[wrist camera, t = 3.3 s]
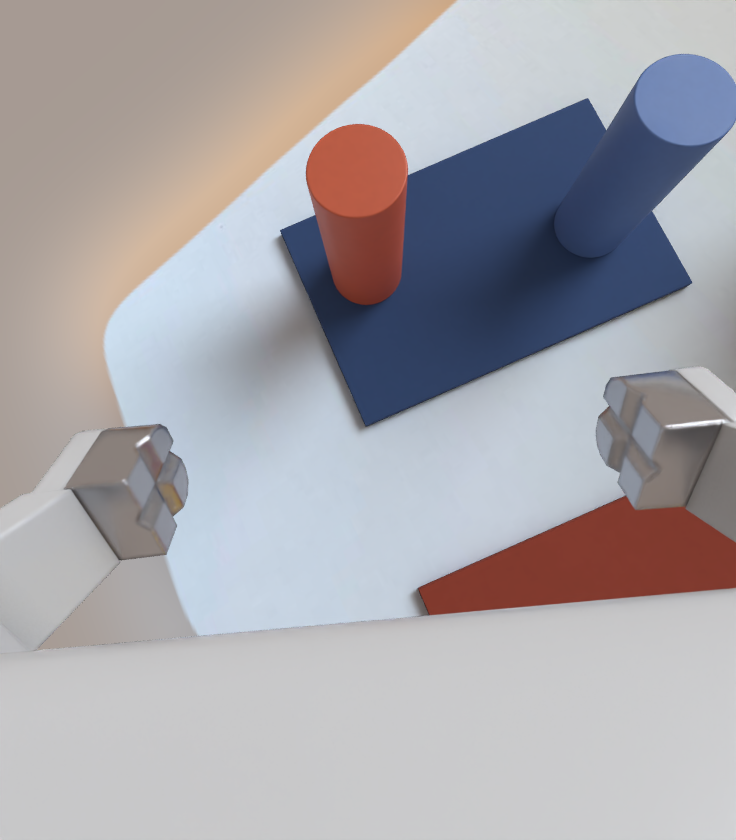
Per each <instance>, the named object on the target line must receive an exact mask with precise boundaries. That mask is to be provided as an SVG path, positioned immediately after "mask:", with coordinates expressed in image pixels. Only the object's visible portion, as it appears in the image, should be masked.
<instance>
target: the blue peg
mask: <svg viewBox="0 0 736 840" xmlns="http://www.w3.org/2000/svg"><path fill="white" fill-rule="evenodd" d="M735 121H736V84H735V82H734V80H733V79H732V77H731V76H730V75H729V73H728V72H727V71H726V70H725V69H724V68H722V67H721V66H720V65H718V64H717V63H715V62H714V61H712V60H710V59H707V58H705V57H702V56H698V55H692V54H677V55H672V56H668V57H665V58H662V59H660V60H658V61H656V62H655V63H653V64H652V65H650V66H649V67H648V68H647V69H646V70H645V71H644V72H643V73H642V74H641V76H640V77H639V79H638V80H637V82H636V84H635V85H634V87H633V88H632V90H631V92H630V93H629V95H628V97H627V98H626V100H625V101H624V103H623V105H622V106H621V108H620V109H619V111H618V113H617V114H616V116H615V118H614V119H613V121H612V122H611V124H610V126H609V127H608V129H607V131H606V132H605V134H604V135H603V137H602V139H601V140H600V142H599V143H598V145H597V147H596V148H595V150H594V152H593V153H592V155H591V156H590V158H589V160H588V161H587V163H586V164H585V166H584V168H583V169H582V171H581V173H580V174H579V176H578V177H577V179H576V181H575V182H574V184H573V186H572V187H571V189H570V190H569V192H568V194H567V195H566V197H565V198H564V200H563V202H562V203H561V205H560V207H559V208H558V210H557V212H556V215H555V219H554V229H555V233H556V236H557V238H558V240H559V242H560V243H561V244H562V245H563V247H565V248H566V249H567V250H568V251H570V252H571V253H573V254H575V255H578V256H581V257H586V258H595V257H600V256H604V255H606V254H608V253H610V252H611V251H613V250H614V249H615V248H616V247H617V246H618V245H619V244H620V243H621V242H622V241H623V240H624V239H625V238H626V237H627V236H628V235H629V234H630V233H631V232H632V231H633V230H634V229H635V228H636V227H637V226H638V225H639V224H640V223H641V222H642V221H643V219H644V218H645V217H646V216H647V215H648V214H649V213H650V212H651V211H652V210H653V209H654V208H655V207H656V206H657V205H658V204H659V203H660V202H661V201H662V200H663V199H664V198H665V197H666V196H667V195H668V194H669V193H670V192H671V191H672V190H673V188H674V187H675V186H676V185H677V184H678V183H679V182H680V181H681V180H682V179H683V178H684V177H685V176H686V175H687V174H688V173H689V172H690V171H691V170H692V169H693V168H694V167H695V166H696V165H697V164H698V163H699V162H700V161H701V160H702V158H703V157H704V156H705V155H706V154H707V153H708V152H709V151H710V150H711V149H712V148H713V147H714V146H715V145H716V144H717V143H718V142H719V141H720V140H721V139H722V138H723V137H724V136H725V135H726V134H727V133H728V131H729V130H730V129H731V128H732V126H733V125H734V123H735Z"/></svg>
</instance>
